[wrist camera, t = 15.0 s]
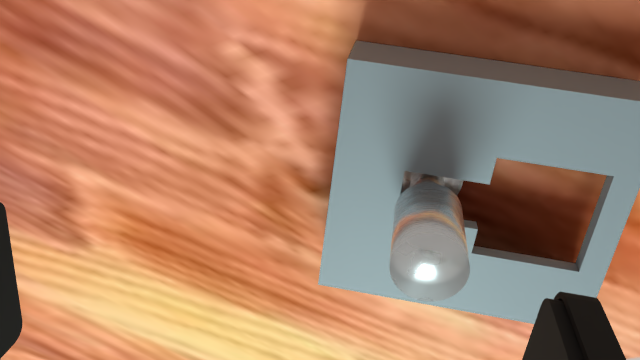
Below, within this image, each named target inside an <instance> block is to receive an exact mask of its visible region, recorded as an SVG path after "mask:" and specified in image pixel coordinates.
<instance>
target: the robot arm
mask: <svg viewBox="0 0 640 360" xmlns="http://www.w3.org/2000/svg"><path fill="white" fill-rule="evenodd" d="M21 329H22V316H21V309H20V302H19V296H18V289H17V282H16V276H15V269H14V263H13V256H12V249H11V243H10V236H9V229H8V223H7V216H6V210H5V207H4V205H3V204H2V203H0V358H1V357H2V356H3V355H4V354H5V353H6V352H7V351H8V350H9V349H10V348H11V346H12V345H13V344H14V343H15V342H16V340H17V339H18V337H19V335H20V332H21ZM522 360H626V358H625V356H624V354H623V352H622V349H621V347H620V345H619V343H618V341H617V338H616V336H615V334H614V332H613V330H612V327H611V325H610V323H609V321H608V318H607V316H606V314H605V312H604V310H603V307H602V305H601V303H600V301H599V300H598V299H597V298H595V297H589V296H584V295H578V294H572V293H566V292H558V293H557V295H556V296H555V298H554V299H549V298H546V299H544V300H543V302H542V304H541V306H540V309H539V312H538V315H537V318H536V321H535V324H534V327H533V330H532V333H531V336H530V339H529V342H528V345H527V347H526V350H525V353H524V356H523V359H522Z"/></svg>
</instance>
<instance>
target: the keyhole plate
mask: <svg viewBox="0 0 640 360" xmlns="http://www.w3.org/2000/svg"><path fill="white" fill-rule="evenodd" d="M497 158H501V159H508V160H514V161H520V162H527V163H533V164H539V165H546V166H552V167H558V168H565V169H571V170H577V171H583V172H590V173H596V174H602V175H607V177H606V180H605V182H604V185H603V188H602V191H601V193H600V196H599V199H598V202H597V205H596V207H595V210H594V213H593V216H592V218H591V221H590V224H589V227H588V230H587V232H586V235H585V238H584V241H583V243H582V246H581V249H580V252H579V255H578V257H577V260H576V263H571V262H565V261H559V260H553V259H548V258H542V257H536V256H530V255H524V254H519V253H513V252H507V251H501V250H495V249H490V248H484V247H478V246H474V242H475V238H476V234H477V231H478V228H477V222H475V221H469V220H464V227H465V235H466V242H467V249H468V257H469V264H470V274H469V278H468V280H467V282H466V284H465V285H464V287H463V288H462V289H461V290H460V291H459V292H458V293H457V294H455V295H453V296H452V297H450V298H447V299H444V300H440V301H421V300H417V299H414V298H411V297H409V296H407V295H406V294H404V293H403V292H402V291H400V290H399V289H398V288H397V286H396V285H395V284H394V282H393V280H392V278H391V275H390V269H389V265H390V253H391V242H392V230H393V218H394V207H395V204H396V201H397V199H398V198H399V196H400V193H401V188H402V182H403V177H404V172H405V171H409V172H415V173H421V174H427V175H434V176H440V177H446V178H452V179H458V180H464V181H471V182H477V183H483V184H489V185H490V181H491V178H492V174H493V170H494V166H495V163H496V159H497ZM639 188H640V81H636V80H629V79H622V78H615V77H608V76H601V75H594V74H587V73H580V72H573V71H566V70H559V69H552V68H545V67H538V66H531V65H524V64H517V63H510V62H503V61H496V60H489V59H482V58H475V57H468V56H461V55H454V54H447V53H440V52H434V51H427V50H420V49H413V48H406V47H399V46H392V45H385V44H378V43H371V42H364V41H357V40H356V42H355V44H354V46H353V48H352V50H351V53H350V55H349V57H348V60H347V67H346V75H345V83H344V90H343V98H342V106H341V113H340V121H339V129H338V136H337V144H336V152H335V160H334V167H333V175H332V183H331V190H330V198H329V206H328V213H327V221H326V229H325V236H324V244H323V252H322V259H321V267H320V275H319V282H318V284H319V285H324V286H329V287H335V288H340V289H346V290H351V291H357V292H362V293H368V294H373V295H379V296H384V297H390V298H395V299H401V300H406V301H412V302H417V303H423V304H428V305H433V306H439V307H444V308H450V309H455V310H461V311H466V312H472V313H477V314H483V315H488V316H494V317H499V318H505V319H510V320H516V321H521V322H527V323H532V324H535V321H536V318H537V315H538V312H539V309H540V306H541V304H542V302H543V300H544V299H546V298H549V299H554V298H555V296H556V295H557V293H558V292H566V293H572V294H578V295H584V296H589V297H595V298H597V295H598V293H599V290H600V288H601V285H602V282H603V280H604V277H605V275H606V272H607V270H608V267H609V265H610V262H611V259H612V257H613V254H614V252H615V249H616V247H617V244H618V242H619V239H620V237H621V234H622V231H623V229H624V226H625V224H626V221H627V219H628V216H629V214H630V211H631V208H632V206H633V203H634V201H635V198H636V196H637V193H638V191H639Z"/></svg>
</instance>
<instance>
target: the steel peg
mask: <svg viewBox="0 0 640 360" xmlns="http://www.w3.org/2000/svg"><path fill="white" fill-rule="evenodd" d="M462 185H463V180H458V179H452V178H446V177H440V176H434V175H427V174H421V173H415V172H409V171H405V172H404V177H403V182H402V188H401V193H400V196H399V198H398V199H397V201H396V204H395V207H394V218H393V230H392V242H391V253H390V265H389V269H390V275H391V278H392V280H393V282H394V284H395V285H396V286H397V288H398V289H399V290H400V291H402V292H403V293H404V294H406V295H407V296H409V297H411V298H414V299H417V300H421V301H440V300H444V299H447V298H450V297H452V296H453V295H455V294H457V293H458V292H459V291H460V290H461V289H462V288H463V287H464V285H465V284H466V282H467V280H468V278H469V274H470V264H469V257H468V249H467V242H466V235H465V227H464V220H463V213H462V206H461V203H460V201H459V199H458V197H457V195H458V193H459V192H460V190H461V188H462Z"/></svg>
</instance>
